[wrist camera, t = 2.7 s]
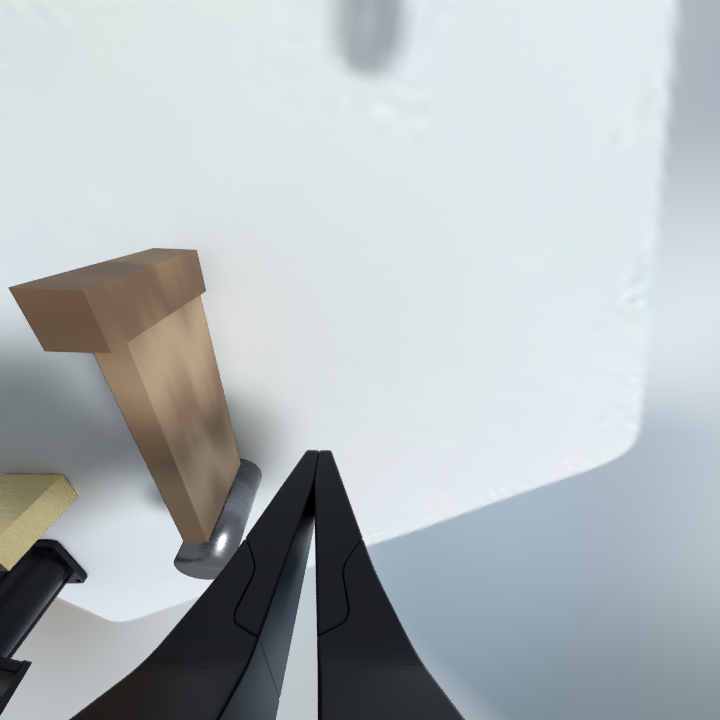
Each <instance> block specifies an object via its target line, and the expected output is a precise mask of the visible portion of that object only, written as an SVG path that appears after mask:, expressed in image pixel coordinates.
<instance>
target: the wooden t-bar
mask: <svg viewBox="0 0 720 720" xmlns="http://www.w3.org/2000/svg"><path fill="white" fill-rule="evenodd" d="M9 290H10V291H11V293H12V295H13V297H14V298H15V300H16V302H17V304H18V305H19V307H20V309H21V311H22V312H23V314H24V316H25V318H26V319H27V321H28V323H29V325H30V326H31V328H32V330H33V331H34V333H35V335H36V337H37V338H38V340H39V342H40V344H41V345H42V347H43V349H44V351H52V352H87V353H93V354H94V356H95V358H96V360H97V362H98V364H99V367H100V369H101V371H102V373H103V375H104V377H105V379H106V381H107V383H108V385H109V387H110V389H111V391H112V394H113V396H114V398H115V400H116V402H117V404H118V406H119V408H120V410H121V412H122V414H123V416H124V419H125V421H126V423H127V425H128V427H129V429H130V431H131V433H132V435H133V437H134V439H135V441H136V443H137V446H138V448H139V450H140V452H141V454H142V456H143V458H144V460H145V462H146V464H147V466H148V468H149V471H150V473H151V475H152V477H153V479H154V481H155V483H156V485H157V487H158V489H159V491H160V493H161V495H162V498H163V500H164V502H165V504H166V506H167V508H168V510H169V512H170V514H171V516H172V518H173V520H174V522H175V525H176V527H177V529H178V531H179V533H180V535H181V537H182V539H183V541H184V542H208V541H209V538H210V536H211V533H212V531H213V529H214V526H215V524H216V521H217V519H218V517H219V514H220V512H221V510H222V507H223V505H224V502H225V500H226V498H227V495H228V493H229V490H230V488H231V486H232V483H233V481H234V479H235V476H236V474H237V471H238V469H239V467H240V464H241V462H240V458H239V454H238V450H237V446H236V442H235V437H234V433H233V429H232V425H231V421H230V417H229V412H228V408H227V404H226V400H225V396H224V391H223V387H222V383H221V379H220V375H219V371H218V366H217V362H216V358H215V354H214V350H213V346H212V341H211V337H210V333H209V329H208V325H207V321H206V316H205V312H204V308H203V304H202V300H201V294H202V293H204V292H205V291H206V289H205V285H204V280H203V276H202V271H201V267H200V263H199V258H198V254H197V250H184V249H160V248H153V249H149V250H145V251H142V252H138V253H134V254H131V255H127V256H123V257H120V258H116V259H112V260H108V261H105V262H101V263H97V264H94V265H90V266H86V267H83V268H79V269H75V270H71V271H68V272H64V273H60V274H57V275H53V276H49V277H46V278H42V279H38V280H34V281H31V282H27V283H23V284H20V285H16V286H12V287H9Z"/></svg>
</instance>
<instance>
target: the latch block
mask: <svg viewBox="0 0 720 720" xmlns="http://www.w3.org/2000/svg"><path fill="white" fill-rule="evenodd" d="M77 496H78V495H77V494H76V492H75V491H74V490H73V488H72V487H71V485H70V484H69V483H68V481H67V480H66V478H65V477H64V476H63V475H42V474H4V475H2V476H1V477H0V571H10V570H11V568H12V567H13V566H14V565H15V564H16V563H17V562H18V561H19V560H20V559H21V557H22V556H23V555H24V554H25V553H26V552H27V551H28V550H29V549H30V548H31V547H32V545H33V544H34V543H35V542H36V541H37V540H38V539H39V538H40V537H41V536H42V535H43V533H44V532H45V531H46V530H47V529H48V528H49V527H50V526H51V525H52V524H53V522H54V521H55V520H56V519H57V518H58V517H59V516H60V515H61V514H62V513H63V512H64V510H65V509H66V508H67V507H68V506H69V505H70V504H71V503H72V502H73V501H74V500H75V498H76V497H77Z"/></svg>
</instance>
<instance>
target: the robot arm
mask: <svg viewBox="0 0 720 720" xmlns="http://www.w3.org/2000/svg"><path fill="white" fill-rule="evenodd" d="M314 524H315V555H316V603H317V655H318V656H317V658H318V720H465V719H464V718H463V717H462V715H461V714H460V712H459V711H458V710H457V709H456V707H455V706H454V704H453V703H452V702H451V700H450V699H449V698H448V697H447V695H446V694H445V693H444V691H443V690H442V689H441V687H440V686H439V685H438V683H437V682H436V681H435V679H434V678H433V677H432V675H431V674H430V673H429V671H428V670H427V669H426V667H425V666H424V664H423V663H422V661H421V660H420V658H419V656H418V654H417V653H416V651H415V649H414V648H413V646H412V644H411V642H410V640H409V638H408V636H407V635H406V633H405V631H404V629H403V627H402V625H401V623H400V621H399V619H398V617H397V615H396V613H395V611H394V609H393V607H392V605H391V603H390V601H389V599H388V597H387V595H386V593H385V591H384V589H383V587H382V584H381V582H380V580H379V578H378V576H377V574H376V571H375V569H374V567H373V564H372V562H371V560H370V556H369V554H368V552H367V549H366V546H365V543H364V540H362V535H361V532H360V529H359V527H358V524H357V521H356V518H355V516H354V513H353V510H352V507H351V504H350V502H349V499H348V496H347V493H346V490H345V488H344V485H343V482H342V479H341V476H340V474H339V471H338V468H337V465H336V463H335V460H334V457H333V454H332V452H331V451H330V450H321V451H318V450H307V451H306V452H305V454H304V455H303V457H302V458H301V459H300V461H299V462H298V464H297V465H296V467H295V468H294V469H293V471H292V472H291V474H290V475H289V477H288V478H287V479H286V481H285V482H284V484H283V485H282V487H281V488H280V489H279V491H278V492H277V494H276V495H275V497H274V498H273V499H272V501H271V502H270V504H269V505H268V507H267V508H266V509H265V511H264V512H263V514H262V515H261V517H260V518H259V519H258V521H257V522H256V524H255V525H254V527H253V528H252V529H251V531H250V532H249V534H248V535H247V537H246V540H244V541H243V542H242V544H241V545H240V546H239V548H238V549H237V551H236V552H235V553H234V555H233V556H232V558H231V559H230V560H229V562H228V563H227V564H226V566H225V567H224V568H223V570H222V571H221V572H220V573H219V575H218V576H217V577H216V578H215V580H214V581H213V582H212V583H211V585H210V586H209V587H208V588H207V589H206V591H205V592H204V593H203V594H202V595H201V597H200V598H199V599H198V600H197V601H196V602H195V604H194V605H193V606H192V607H191V609H190V610H189V611H188V612H187V613H186V614H185V616H184V617H183V618H182V619H181V620H180V622H179V623H178V624H177V625H176V626H175V627H174V628H173V630H172V631H171V632H170V633H169V635H168V636H167V637H166V638H165V639H164V640H163V641H162V643H161V644H160V645H159V646H158V647H157V648H156V649H155V650H154V651H153V652H152V654H151V655H150V656H149V657H148V658H146V660H144V661H143V662H142V663H141V664H140V665H139V666H138V667H137V668H136V669H134V670H133V671H132V672H131V673H130V674H129V675H127V676H126V677H125V678H123V679H122V680H121V681H119V682H118V683H117V684H115V685H114V686H113V687H112V688H110V689H109V690H108V691H106V692H105V693H104V694H102V695H101V696H100V697H98V698H97V699H96V700H94V701H93V702H92V703H90V704H89V705H88V706H87V707H85V708H84V709H83V710H81V711H80V712H79V713H78V714H76V715H75V716H73V717H72V718H71V719H69V720H276V715H277V710H278V704H279V698H280V694H281V689H282V684H283V679H284V674H285V669H286V664H287V659H288V654H289V649H290V644H291V639H292V634H293V629H294V624H295V619H296V614H297V609H298V604H299V599H300V594H301V589H302V584H303V579H304V574H305V569H306V564H307V559H308V554H309V549H310V544H311V539H312V534H313V529H314ZM86 579H87V575H86V574H85V573H84V572H83V571H82V570H81V568H80V567H79V566H78V565H77V564H76V563H75V562H74V560H73V559H72V558H71V557H70V556H69V555H68V554H67V553H66V551H65V550H64V549H63V548H62V547H61V546H60V545H59V544H58V543H56V542H51V541H36V542H35V543H34V544H33V545H32V547H31V548H30V549H29V550H28V551H27V552H26V553H25V554H24V555H23V556H22V557H21V559H20V560H19V561H18V562H17V563H16V564H15V565H14V566H13V567H12V568H11V570H10V571H0V715H1V714H2V712H3V710H4V709H5V707H6V705H7V703H8V702H9V700H10V698H11V697H12V695H13V693H14V692H15V690H16V688H17V687H18V685H19V683H20V682H21V680H22V678H23V677H24V675H25V673H26V672H27V670H28V668H29V667H30V665H31V663H32V662H30V661H26V660H24V661H18V660H13V659H11V657H12V656H13V655H14V653H15V652H16V651H17V649H18V648H19V647H20V645H21V644H22V643H23V641H24V640H25V639H26V637H27V636H28V634H29V633H30V632H31V630H32V629H33V628H34V626H35V625H36V624H37V622H38V621H39V620H40V618H41V617H42V615H43V614H44V613H45V611H46V610H47V609H48V607H49V606H50V605H51V603H52V602H53V601H54V599H55V598H56V597H57V595H58V594H59V593H60V591H61V590H62V588H63V587H64V586H65V584H66V583H84V582H85V580H86Z"/></svg>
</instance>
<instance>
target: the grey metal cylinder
mask: <svg viewBox="0 0 720 720" xmlns="http://www.w3.org/2000/svg"><path fill="white" fill-rule="evenodd" d="M240 462H241V464H240V467H239V469H238V471H237V474H236V476H235V479H234V481H233V483H232V486H231V488H230V490H229V493H228V495H227V498H226V500H225V502H224V505H223V507H222V510H221V512H220V514H219V517H218V519H217V521H216V524H215V526H214V529H213V531H212V533H211V536H210V538H209V541H208V542H184V541H183V543H182V545H181V547H180V549H179V551H178V554H177V556H176V558H175V560H174V565H175V567H176V568H177V570H179V571H180V572H181V573H183V574H185V575H187V576H190V577H194V578H198V579H208V580H210V579H215V578H216V577H217V576H218V575H219V573H220V572H221V571H222V570H223V568H224V567H225V566H226V564H227V563H228V562H229V560H230V559H231V558H232V556H233V555H234V553H235V552H236V551H237V549H238V548H239V545H240V542H241V539H242V536H243V533H244V529H245V526H246V523H247V520H248V517H249V514H250V511H251V508H252V505H253V502H254V499H255V496H256V493H257V489H258V486H259V483H260V480H261V477H262V473H261V471H260V469H259V468H258V467H257V466H256V465H255V464H253V463H251V462H249V461H246V460H242V459H240Z"/></svg>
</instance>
